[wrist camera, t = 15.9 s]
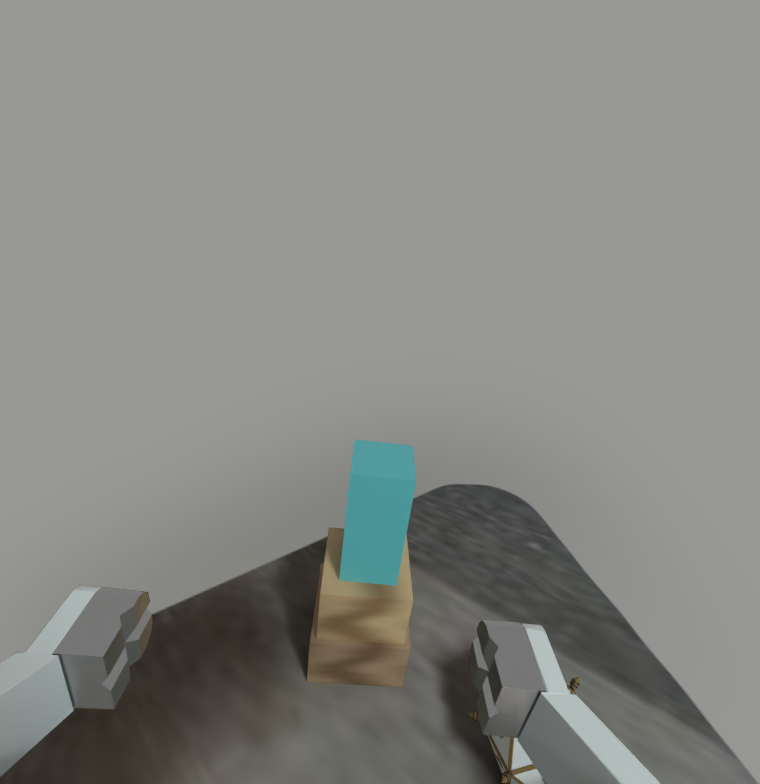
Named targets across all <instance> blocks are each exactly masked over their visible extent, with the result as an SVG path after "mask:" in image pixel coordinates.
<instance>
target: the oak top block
mask: <svg viewBox="0 0 760 784" xmlns="http://www.w3.org/2000/svg"><path fill="white" fill-rule="evenodd" d="M343 538H344V529H341V528H329V531H328V538H327V546H326V553H325V561H324V568H323V576H322V583H321V591H320V601H319V614H318V626H317V638H316V639H326V640H342V641H359V642H375V643H391V644H404V642H405V637H406V632H407V628H408V623H409V618H410V613H411V609H412V604H413V594H412V584H411V574H410V564H409V554H408V544H407V535H406V538H405V543H404V549H403V554H402V560H401V565H400V570H399V576H398V581H397V586H393V585H383V584H373V583H362V582H352V581H342V580H339V576H340V566H341V557H342V547H343Z"/></svg>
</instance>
